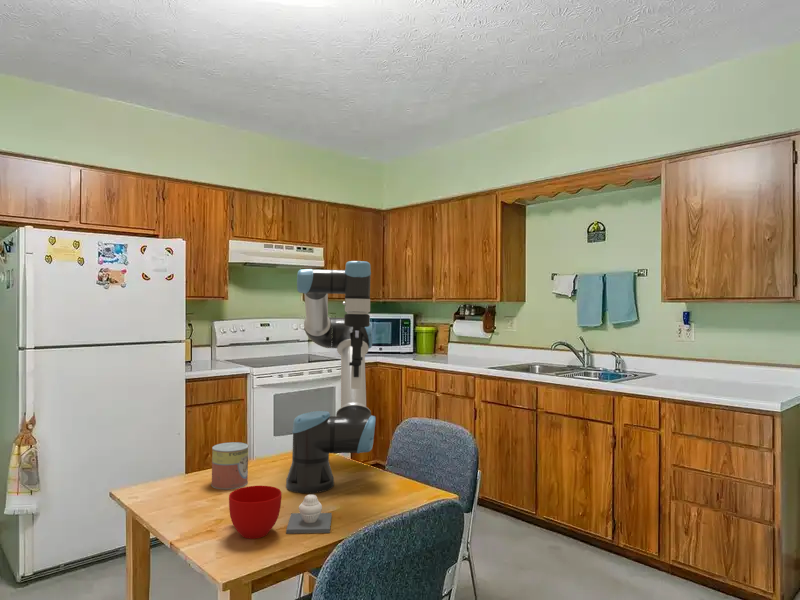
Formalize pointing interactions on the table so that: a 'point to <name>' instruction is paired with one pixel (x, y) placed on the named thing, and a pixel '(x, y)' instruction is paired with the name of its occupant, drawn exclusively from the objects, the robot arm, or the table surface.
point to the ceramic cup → (254, 510)
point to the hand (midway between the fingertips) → (355, 385)
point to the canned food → (229, 465)
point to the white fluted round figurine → (310, 509)
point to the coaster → (309, 524)
